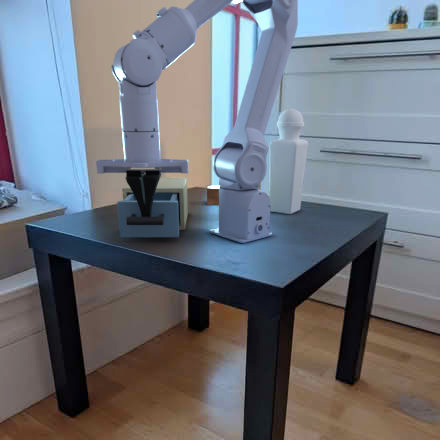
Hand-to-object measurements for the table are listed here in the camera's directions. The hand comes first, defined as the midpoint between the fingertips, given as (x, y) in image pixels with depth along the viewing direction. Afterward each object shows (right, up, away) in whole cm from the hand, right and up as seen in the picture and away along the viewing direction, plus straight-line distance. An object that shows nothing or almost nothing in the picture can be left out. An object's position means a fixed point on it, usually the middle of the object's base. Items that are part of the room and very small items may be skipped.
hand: (146, 216), depth 71 cm
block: (+11, +10, +35) cm, 38 cm away
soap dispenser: (+28, +6, +27) cm, 39 cm away
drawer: (0, -1, +7) cm, 7 cm away
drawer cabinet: (0, +2, +18) cm, 18 cm away
